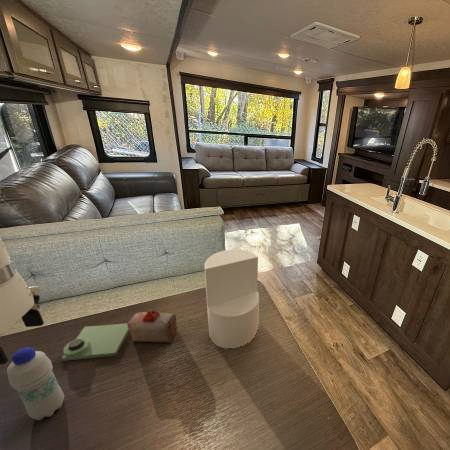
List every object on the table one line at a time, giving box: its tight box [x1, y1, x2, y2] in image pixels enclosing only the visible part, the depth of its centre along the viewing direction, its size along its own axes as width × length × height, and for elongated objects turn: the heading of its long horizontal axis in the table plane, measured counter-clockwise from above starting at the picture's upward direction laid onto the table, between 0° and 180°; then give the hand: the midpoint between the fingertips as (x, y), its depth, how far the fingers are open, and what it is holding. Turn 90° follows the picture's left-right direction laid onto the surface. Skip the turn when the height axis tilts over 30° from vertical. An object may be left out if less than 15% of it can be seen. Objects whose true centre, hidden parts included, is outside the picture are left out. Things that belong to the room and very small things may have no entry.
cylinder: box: [203, 249, 260, 349], centre depth 84 cm, size 17×17×28 cm
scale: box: [61, 322, 130, 362], centre depth 79 cm, size 14×12×3 cm
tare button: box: [69, 338, 83, 351], centre depth 74 cm, size 3×3×2 cm
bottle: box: [6, 346, 65, 421], centre depth 57 cm, size 7×7×20 cm
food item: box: [126, 307, 178, 344], centre depth 82 cm, size 14×8×10 cm, turn 92°
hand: (18, 342), depth 52 cm, fingers open, 9 cm apart
